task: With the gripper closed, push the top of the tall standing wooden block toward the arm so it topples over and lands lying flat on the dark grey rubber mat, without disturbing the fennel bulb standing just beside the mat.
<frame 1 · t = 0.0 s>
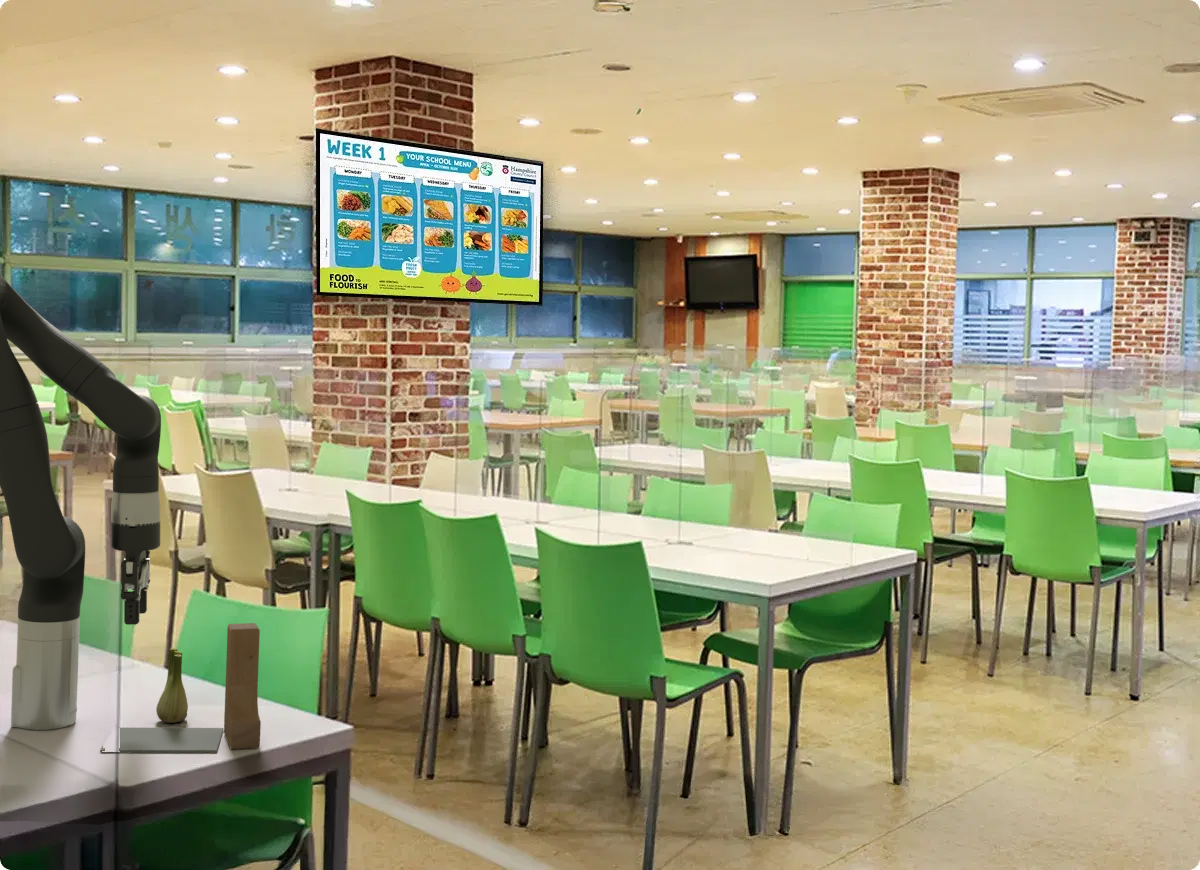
hand: (135, 618, 218), 17 cm above the table, tool pointing down, fingers open, 8 cm apart
mat: (163, 741, 211), on the table
fennel bulb: (171, 722, 221), on the table
wooden block: (241, 742, 213), on the table
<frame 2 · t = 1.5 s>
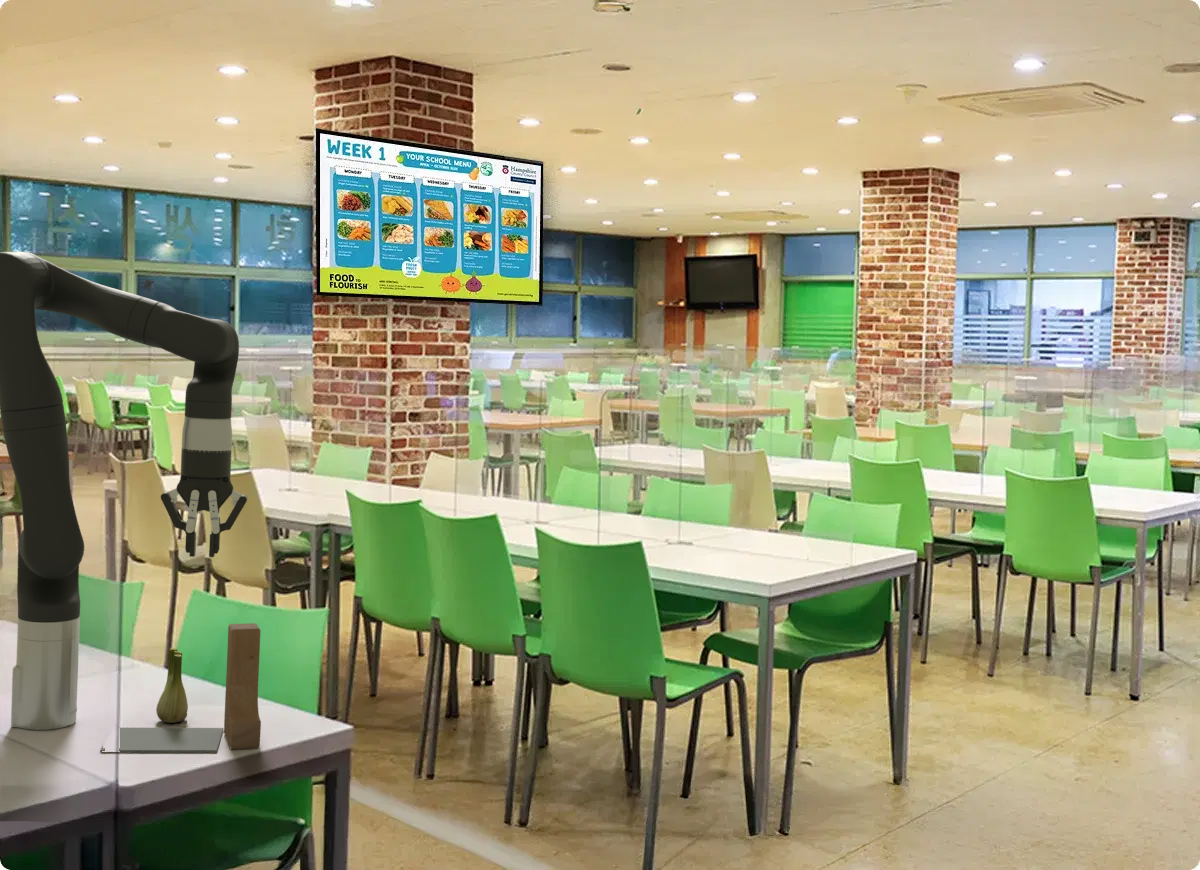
hand: (202, 555, 212), 29 cm above the table, tool pointing down, fingers closed
nothing on the table moved.
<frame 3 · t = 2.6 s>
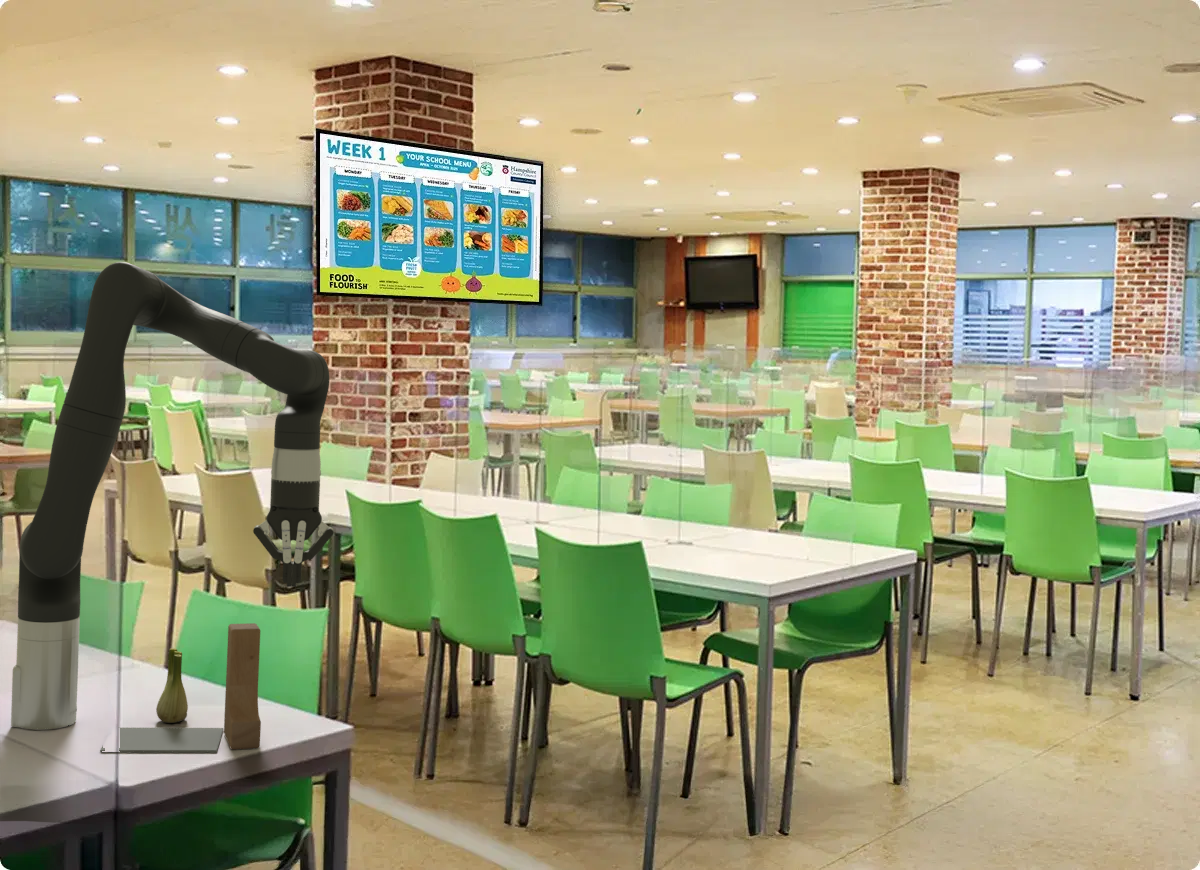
hand: (291, 585, 213), 25 cm above the table, tool pointing down, fingers closed
nothing on the table moved.
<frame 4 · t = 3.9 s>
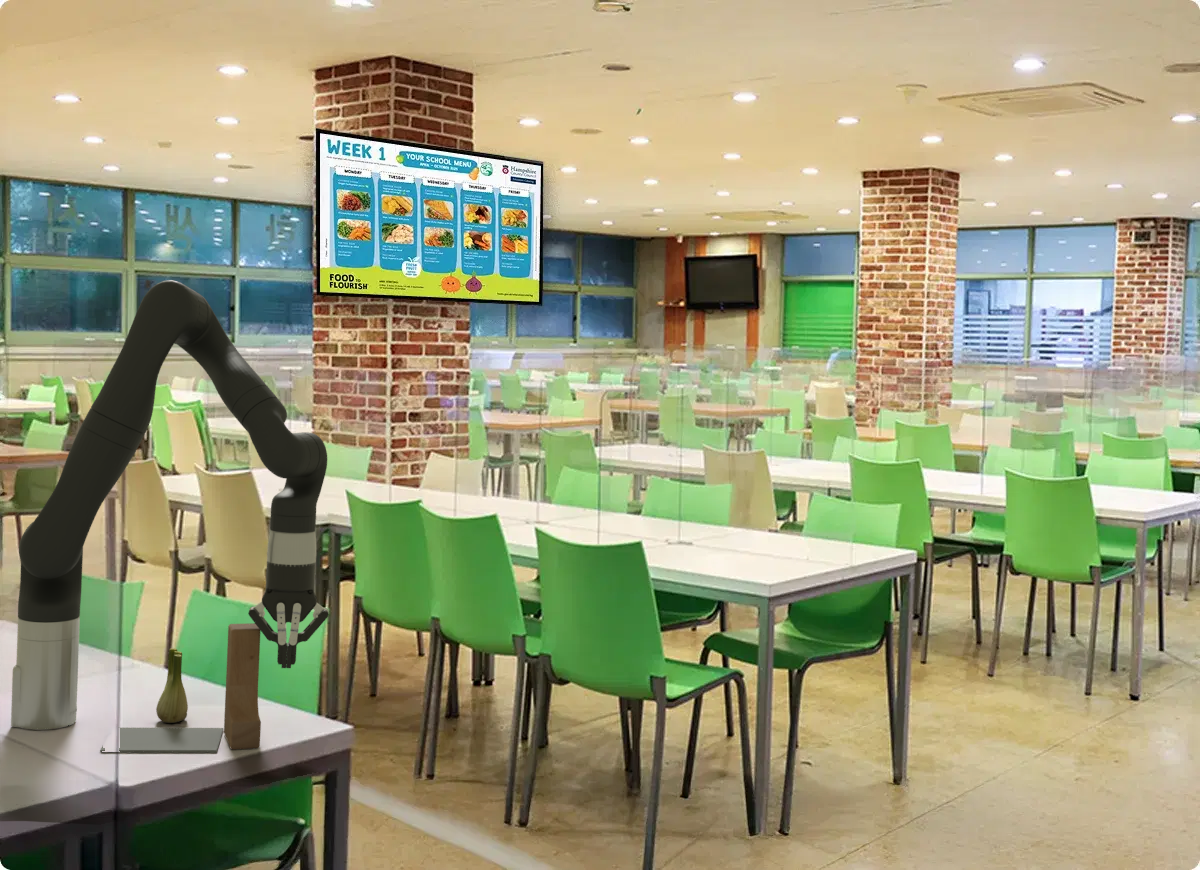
hand: (286, 667, 213), 12 cm above the table, tool pointing down, fingers closed
nothing on the table moved.
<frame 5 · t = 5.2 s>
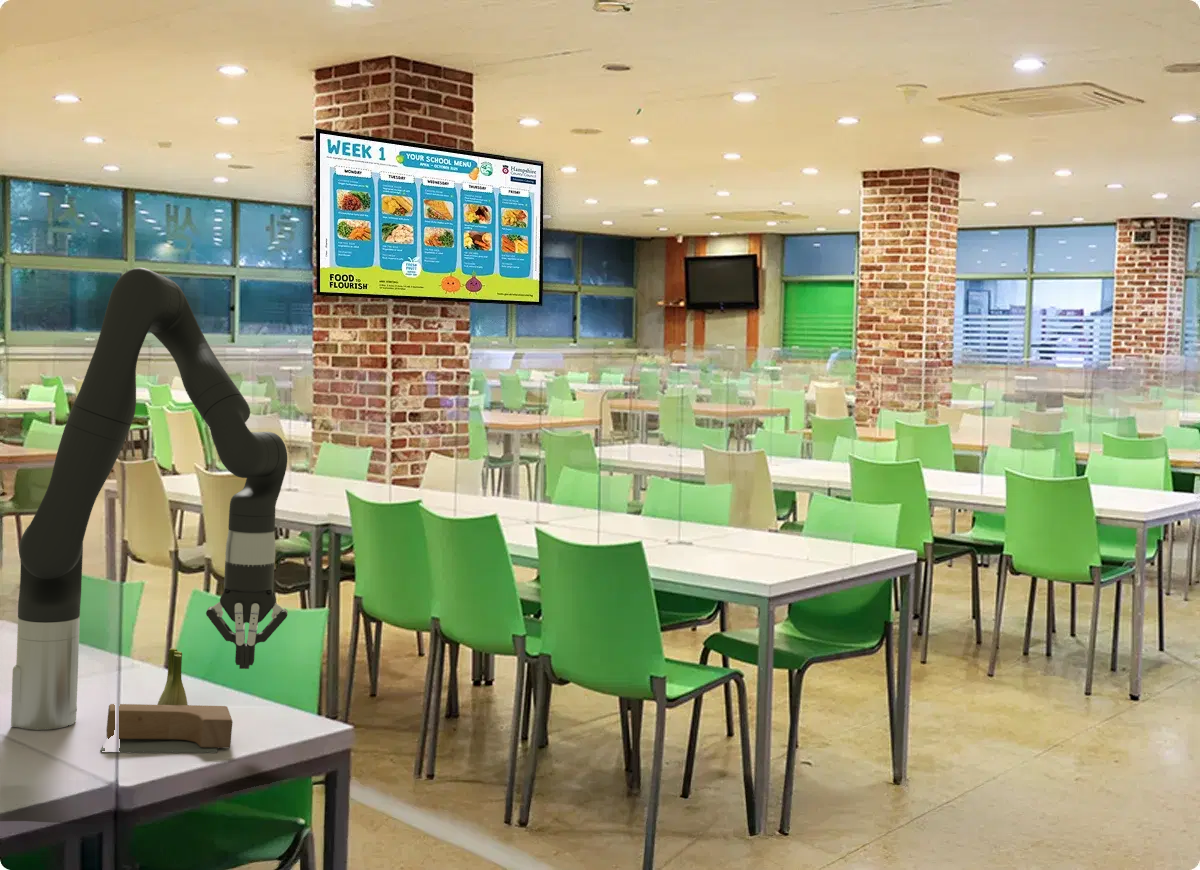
hand: (244, 667, 212), 12 cm above the table, tool pointing down, fingers closed
wooden block: (230, 726, 212), point 2 cm above the table, touching mat
everything else where it was.
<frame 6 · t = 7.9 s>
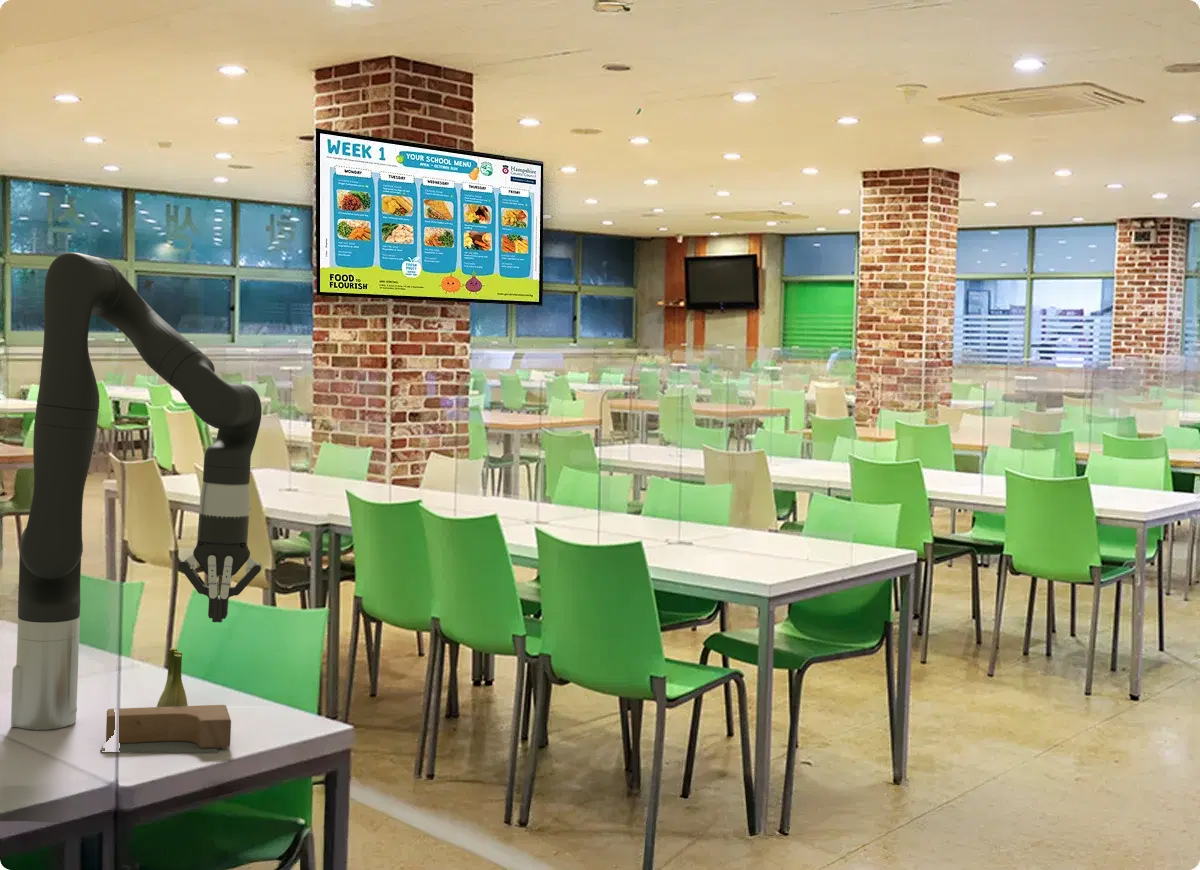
hand: (217, 621, 211), 19 cm above the table, tool pointing down, fingers closed
nothing on the table moved.
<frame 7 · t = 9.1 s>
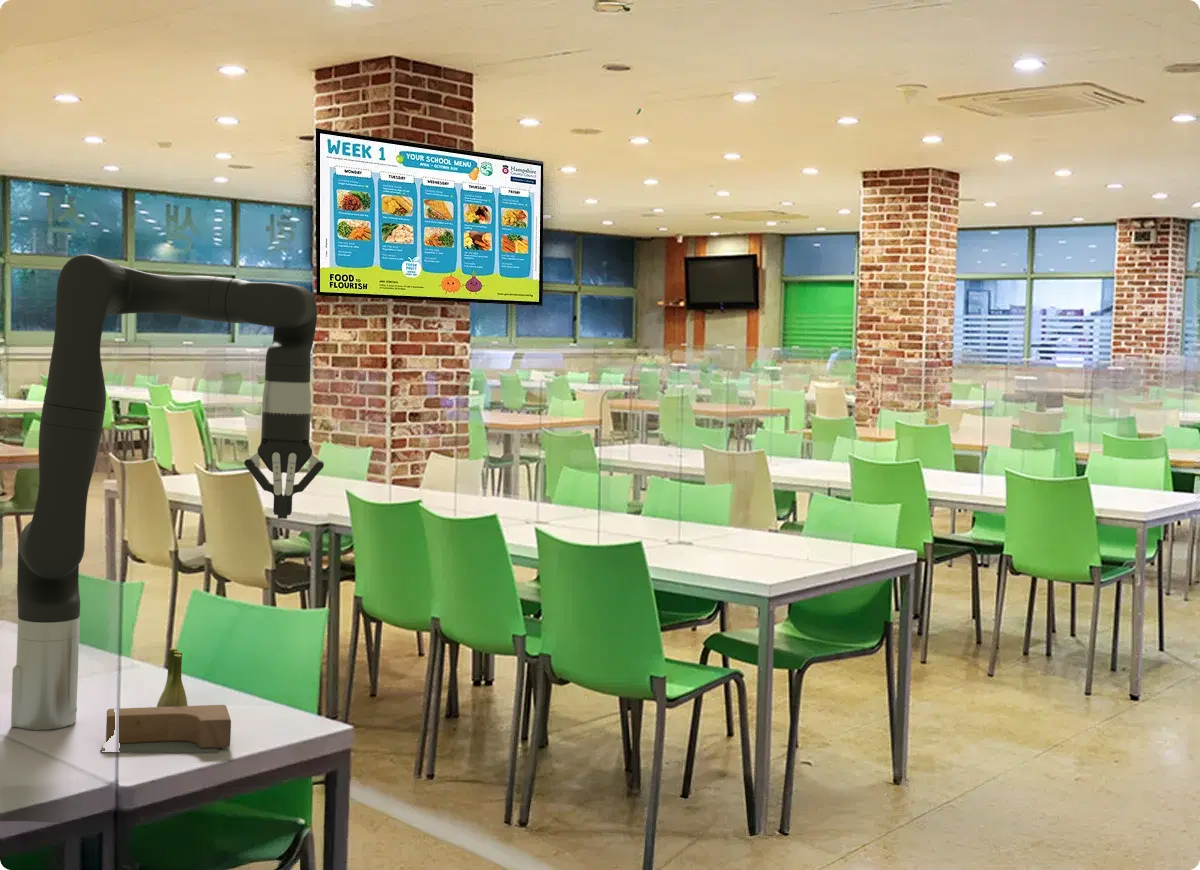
hand: (282, 517, 215), 35 cm above the table, tool pointing down, fingers closed
nothing on the table moved.
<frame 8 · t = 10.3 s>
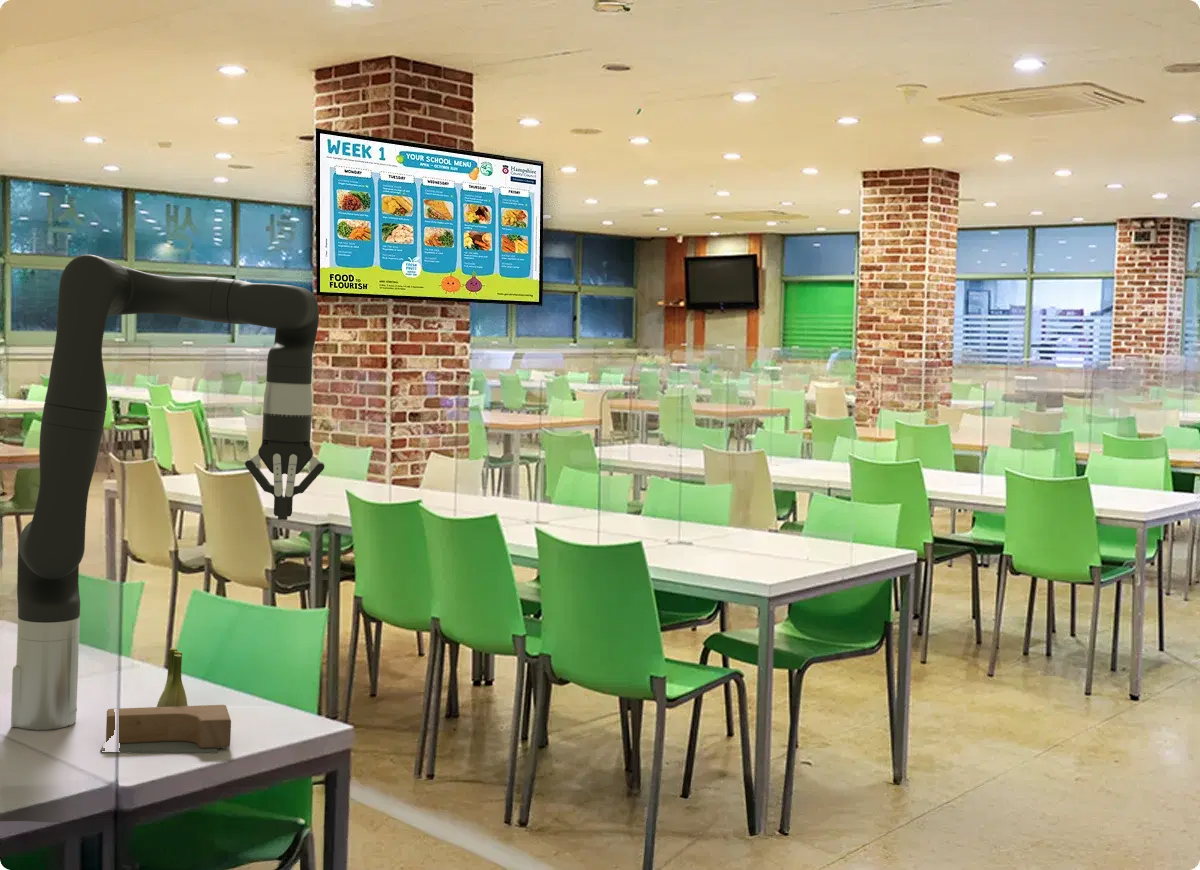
hand: (282, 519, 216), 35 cm above the table, tool pointing down, fingers closed
nothing on the table moved.
at the end: wooden block tilted 90°; wooden block touching mat; fennel bulb moved 0.3 cm from its start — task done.
